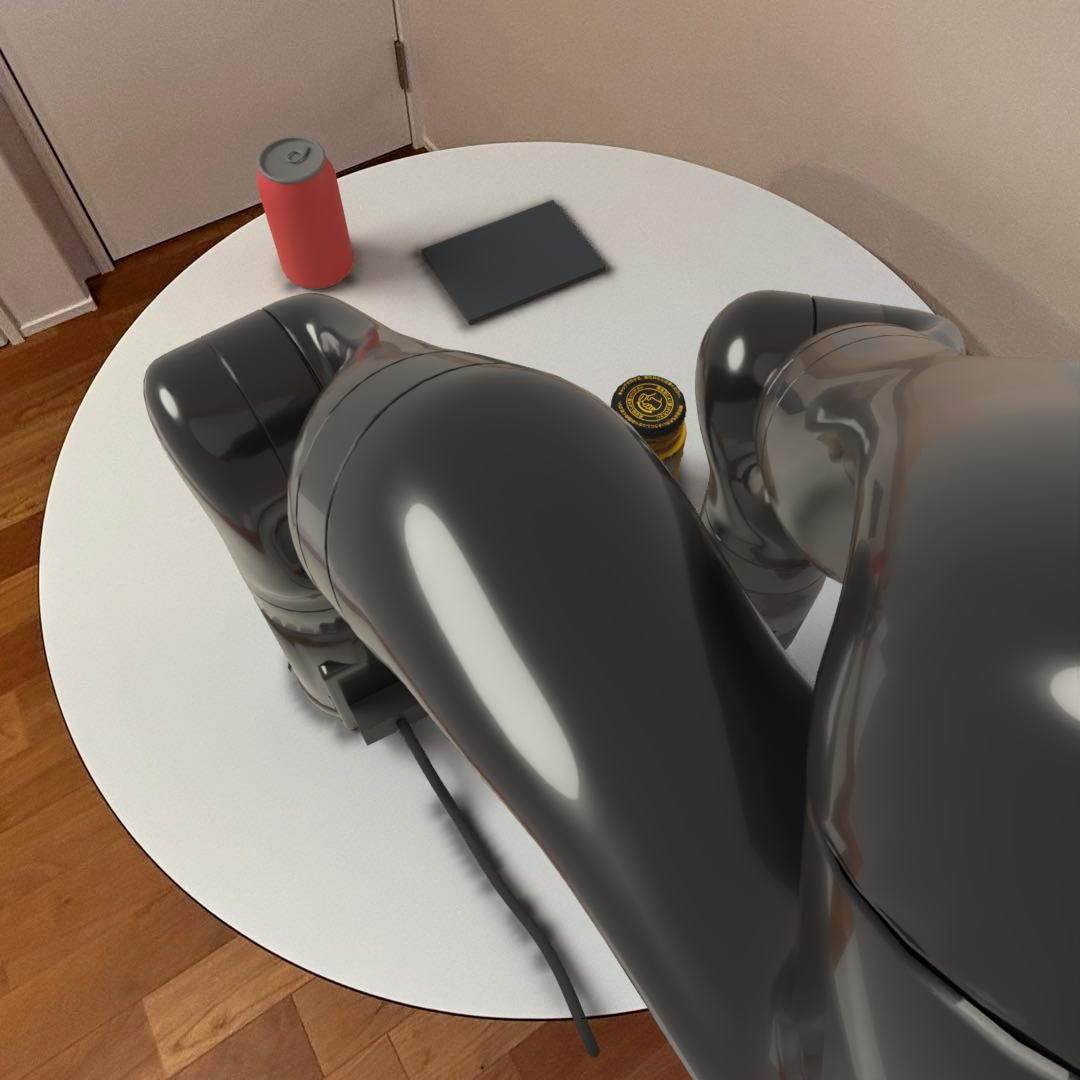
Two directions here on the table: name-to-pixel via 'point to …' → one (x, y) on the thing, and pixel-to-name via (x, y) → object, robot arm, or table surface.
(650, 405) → the condiment
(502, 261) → the dark rectangular pad
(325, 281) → the beer can
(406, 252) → the table surface
